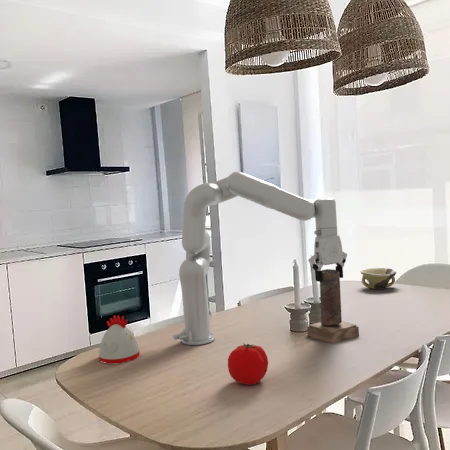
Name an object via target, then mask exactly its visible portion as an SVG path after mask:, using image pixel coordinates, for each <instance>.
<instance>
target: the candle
mask: <svg viewBox="0 0 450 450" xmlns="http://www.w3.org/2000/svg"><path fill="white" fill-rule="evenodd" d="M320 271H322V276H323V281H322V282H319V290H320V291H319V294H320V295H319V296H320V298H319V299H320V322H321V324H323V325H325V326H327V325H328V326H336V325H338V324H340V323H341V322H342V321H343V320H342V302H341V301H342V299H341V298H342V297H341V278H340V272H339V271H337V270H336V269H332V268H331V269H330V268H327V269H321V270H320Z"/></svg>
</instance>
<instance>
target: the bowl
mask: <svg viewBox="0 0 450 450" xmlns="http://www.w3.org/2000/svg"><path fill="white" fill-rule="evenodd" d="M360 274H361V275H362V278H361V283H362V285H363V286H364V287H366V288H368V289H373V290H385V289H386V288H389V287H391V286H394V284H395V282H396V277H395V276H396V275H397V271H396V270H395V269H391V268H386V267H375V268H366V269H365V268H364V269H361V270H360ZM366 280H367V282H368V283H367V282H366ZM390 281H391V282H390Z"/></svg>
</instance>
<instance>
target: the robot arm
mask: <svg viewBox="0 0 450 450" xmlns="http://www.w3.org/2000/svg"><path fill="white" fill-rule="evenodd" d="M237 197H239V198H243V199H245V200H248V201H250V202H253V203H255V204H258V205H260V206H263V207H265V208H267V209H270V210H274V211H276V212H279V213H281V214H284V215H286V216H289V217H291V218H294V219H296V220H299V221H303V222H305V221H309V220H311V219H315V220H314V221H315V230H314V231H313V232H314V235H316V236H315V238H314V249H313V253H314V254H313V255H312V256H311V257H310V258H309V259H308V263H309V265H310V267H311V268H312V270H313V271H314V276H315V277H314V278H315V281H316V282H319V283H320V282H322V281H323V276H322V271H321V270H322V268H323V267H324V266H328V265H329V266H330V265H336V266H335V270H337V271H339V272H340V279H343V278H344V267H345V263H346V262H347V260H346V259H347V256H348V253H346V252H344V251H343V245H342V240H341V237H340V235H339V234H338V224H337V223H338V221H337V220H338V219H337V202H336V200H335V198H333V197H327V198H325V197H322V198H317V199H306V198H303V197H301V196H298V195H296V194H294V193H291V192H288V191H286V190H284V189H282V188H280V187H278V186H276V185H274V184H273V183H271V182H267V181H265V180H262V179H259V178H257V177H254V176H252V175H249V174H247V173H245V172H242V171H233V172H232V173H230V174H229V175H228V176H226V177H223V178H222V179H219V180H216V181H214V182H203V183H202V184H199V185H197V186H195V187H194V188H192V189H191V190H190V191H189V192H188V193H187V195H186V197H185V200H184V202H183V207H182V209H183V211H182V212H183V213H182V216H183V217H182V232H181V233H182V236H181V245H182V248H183V250H184V251H185V259H184V260H183V261H182V263H181V264H180V266H179V271H178V272H179V273H178V276H179V282H180V289H181V296H182V297H181V299H182V307H183V308H182V309H183V320H184V321H183V323H184V329H182V332H180V333H175V334H173V335H172V337H173V340H174V341H175V340H180V341H181V342H182V344H184V345H187V346H200V345H205V344H209V343H212V342H214V341H215V339H216V336H215V334H213V333H211V323H210V322H211V321H210V309H209V296H208V286H207V280H206V275H207V274H208V273H209V269H210V264H211V263H210V261H211V260H210V259H211V258H210V257H211V237H210V234H209V232H208V231H207V230H206V224H207V223H206V219H207V216H206V211H207V208H208V207H210V206H211V207H212V206H216V205H218V204H221V203H224V202H227V201H229V200H233V199H234V198H237Z"/></svg>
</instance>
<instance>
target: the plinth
mask: <svg viewBox="0 0 450 450" xmlns="http://www.w3.org/2000/svg"><path fill="white" fill-rule="evenodd" d="M359 328H360V327H359V326H358V325H357V324H354V323H350V322H346V321H344V320H342V322H341V323H340V324H338V325H336V326H328V325H327V326H325V325H323V324H321V321H320V322H315V323H311V324H308V326H306V332H307V336H308V337H310V338H313V339H317V340H320V341H323V342H325V343H328V344H335V343H338V342H343V341H346V340H348V339H349V340H350V339H353V338H357V337H359V336H360V329H359ZM356 336H357V337H356Z"/></svg>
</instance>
